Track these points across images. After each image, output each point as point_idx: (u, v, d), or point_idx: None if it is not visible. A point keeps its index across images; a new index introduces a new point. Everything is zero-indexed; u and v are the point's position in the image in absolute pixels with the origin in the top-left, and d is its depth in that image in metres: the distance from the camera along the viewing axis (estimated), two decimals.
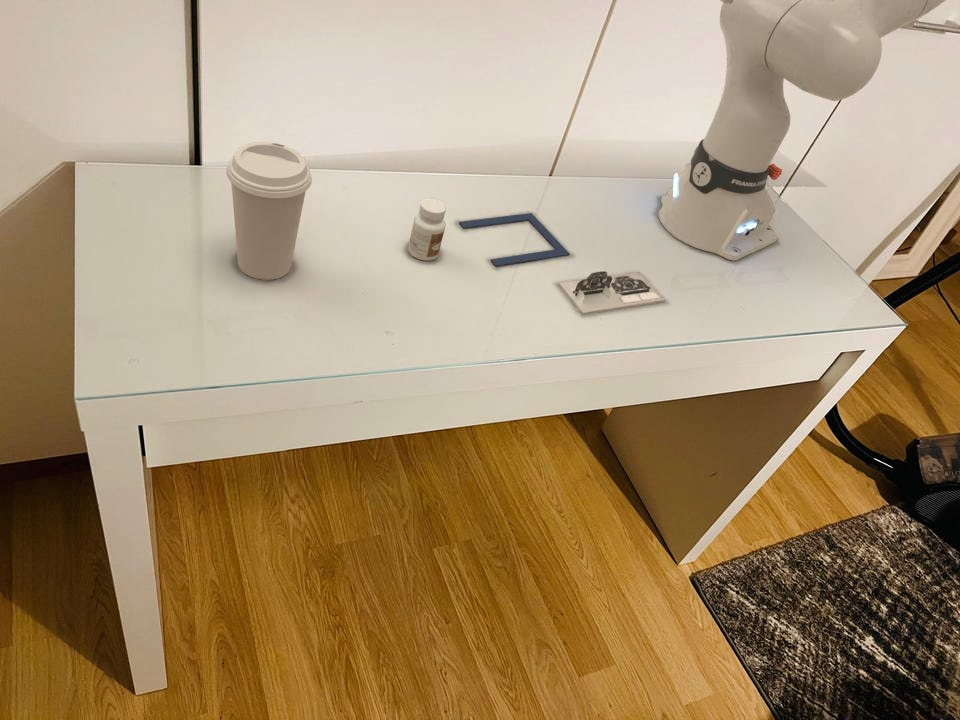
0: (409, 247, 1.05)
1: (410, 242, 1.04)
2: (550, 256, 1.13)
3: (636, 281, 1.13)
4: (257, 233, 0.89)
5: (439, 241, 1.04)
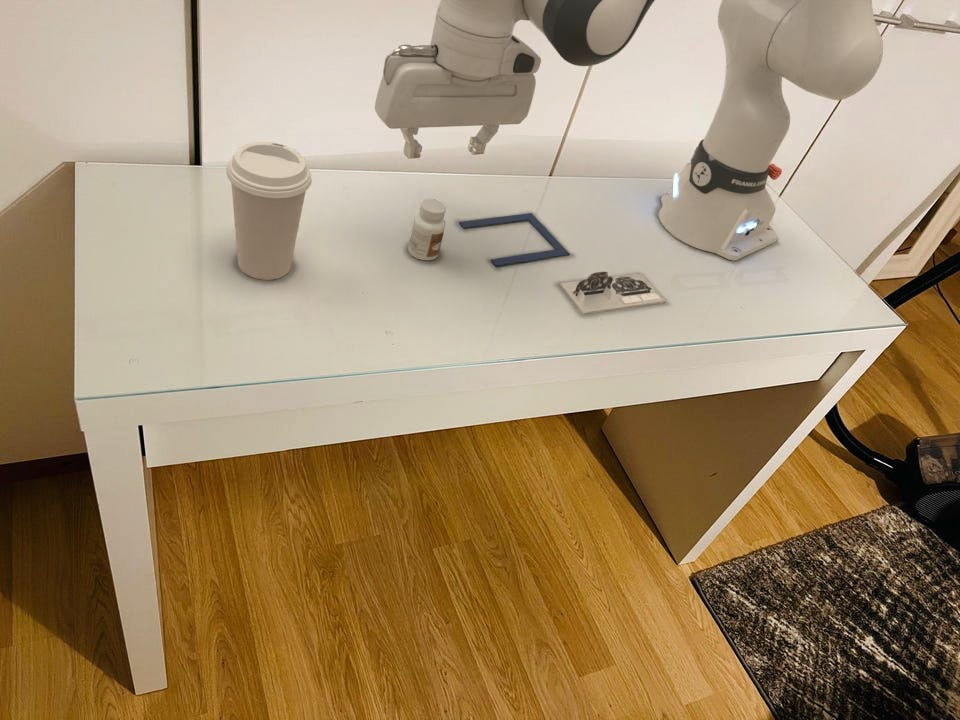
0: (409, 247, 1.05)
1: (410, 242, 1.04)
2: (550, 256, 1.13)
3: (637, 282, 1.13)
4: (257, 233, 0.89)
5: (439, 241, 1.04)
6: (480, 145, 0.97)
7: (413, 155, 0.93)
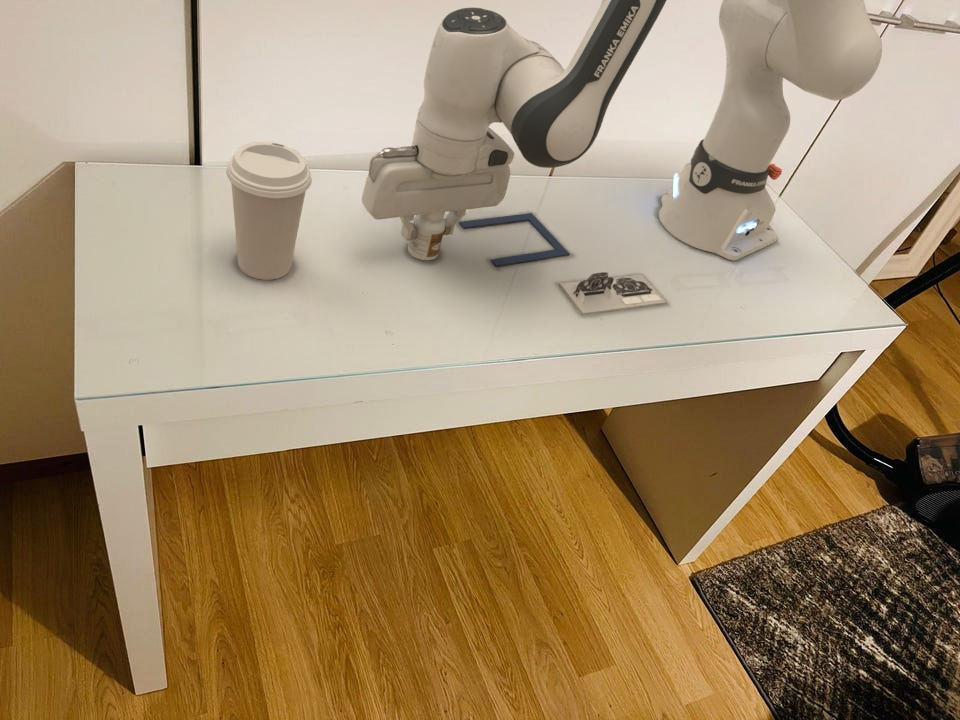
0: (409, 247, 1.05)
1: (410, 242, 1.04)
2: (550, 256, 1.13)
3: (638, 283, 1.13)
4: (257, 233, 0.89)
5: (439, 241, 1.04)
6: (449, 227, 1.05)
7: (410, 237, 1.02)
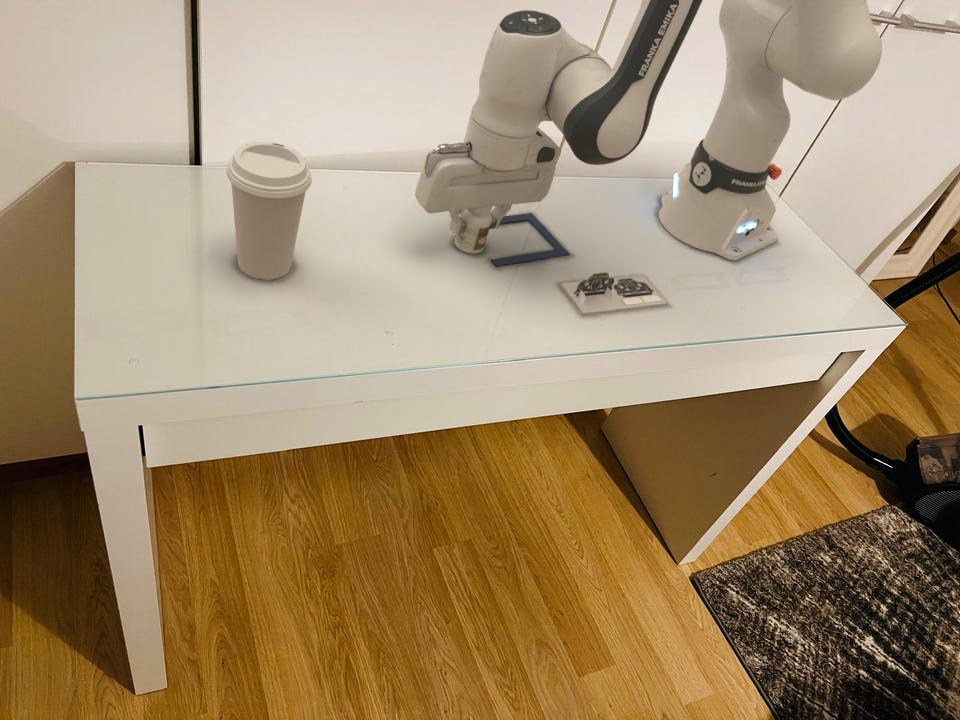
0: (456, 240, 1.09)
1: (457, 236, 1.08)
2: (550, 256, 1.13)
3: (639, 283, 1.13)
4: (257, 233, 0.89)
5: (485, 235, 1.08)
6: (495, 221, 1.08)
7: (458, 231, 1.06)
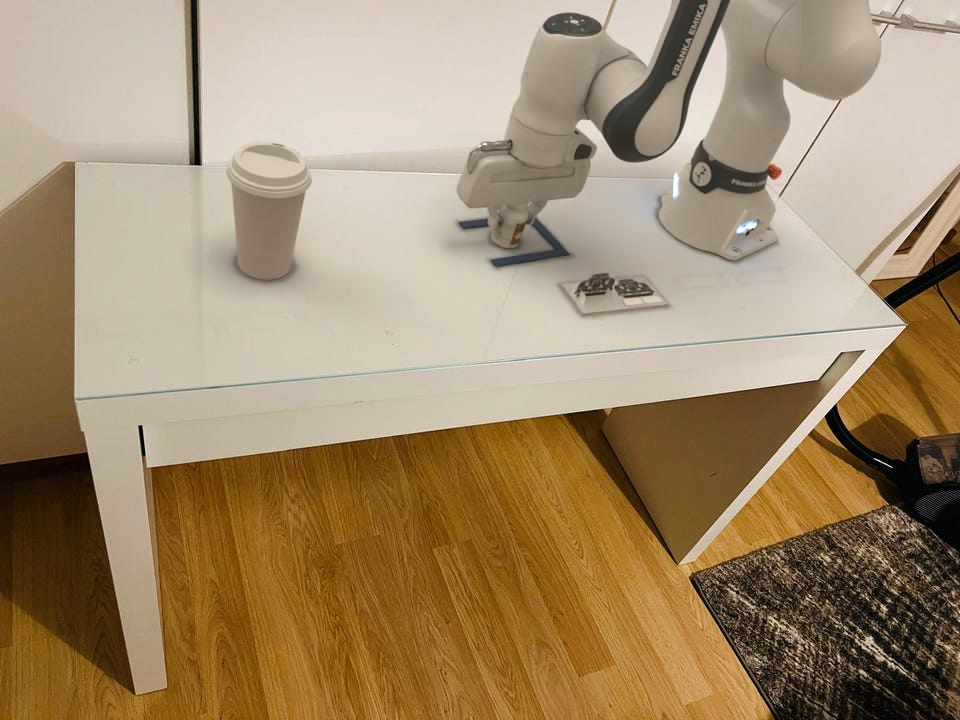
0: (493, 236, 1.12)
1: (494, 231, 1.12)
2: (550, 256, 1.13)
3: (640, 284, 1.13)
4: (257, 233, 0.89)
5: (522, 230, 1.11)
6: (531, 217, 1.12)
7: (496, 226, 1.09)
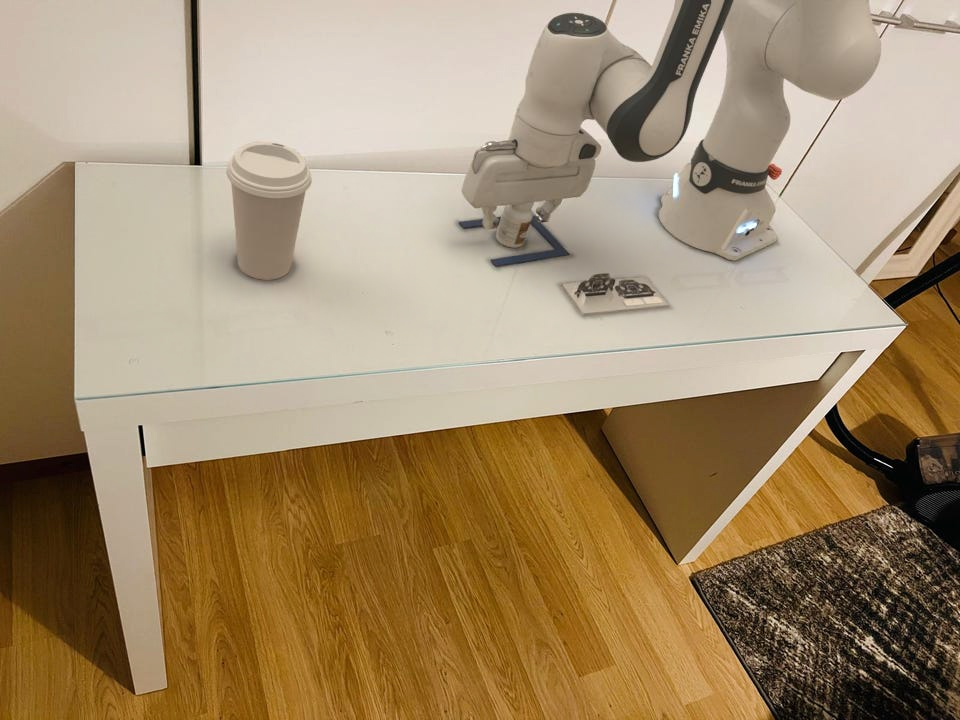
0: (497, 235, 1.13)
1: (499, 230, 1.12)
2: (550, 256, 1.13)
3: (641, 285, 1.13)
4: (257, 233, 0.89)
5: (526, 229, 1.11)
6: (546, 215, 1.13)
7: (491, 227, 1.09)
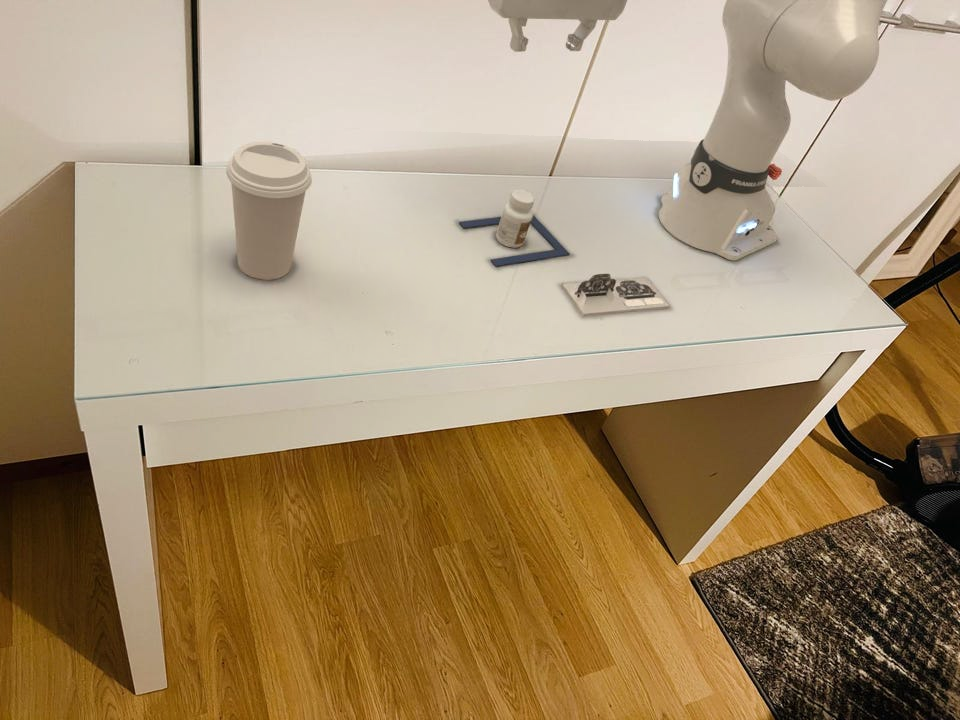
0: (497, 235, 1.13)
1: (499, 230, 1.12)
2: (550, 256, 1.13)
3: (642, 286, 1.13)
4: (257, 233, 0.89)
5: (526, 229, 1.11)
6: (578, 41, 1.03)
7: (520, 48, 0.99)
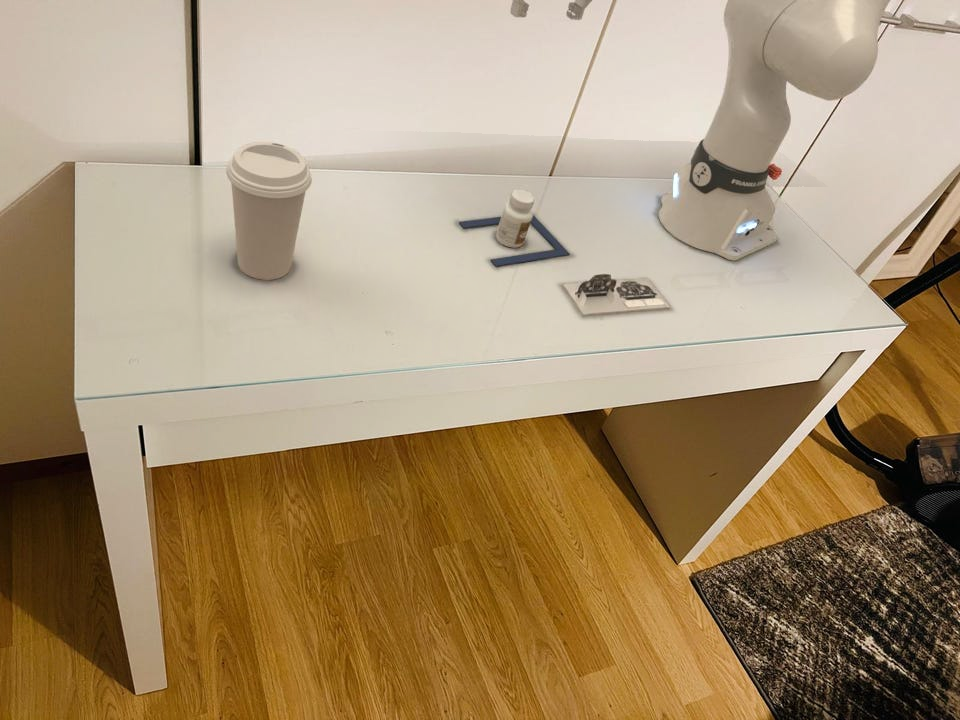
0: (497, 235, 1.13)
1: (499, 230, 1.12)
2: (550, 256, 1.13)
3: (642, 287, 1.13)
4: (257, 233, 0.89)
5: (526, 229, 1.11)
6: (579, 9, 1.03)
7: (520, 13, 0.99)
